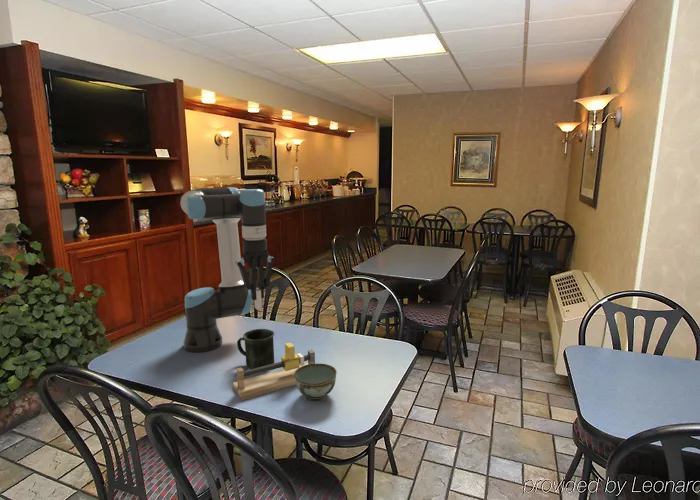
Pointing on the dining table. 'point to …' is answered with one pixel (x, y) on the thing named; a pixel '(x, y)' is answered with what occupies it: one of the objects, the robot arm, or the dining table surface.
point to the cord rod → (269, 367)
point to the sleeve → (290, 358)
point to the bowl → (315, 380)
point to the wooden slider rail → (266, 381)
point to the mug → (258, 348)
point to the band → (301, 359)
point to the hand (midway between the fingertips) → (258, 308)
